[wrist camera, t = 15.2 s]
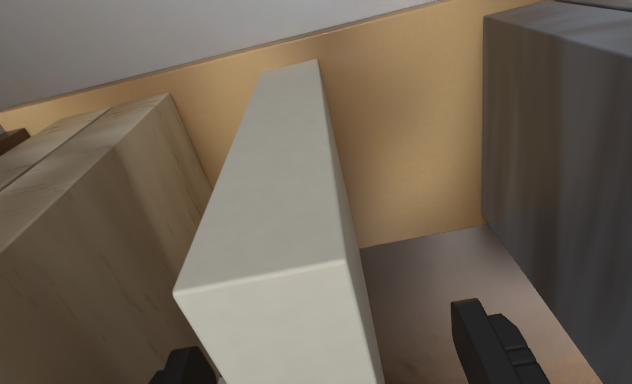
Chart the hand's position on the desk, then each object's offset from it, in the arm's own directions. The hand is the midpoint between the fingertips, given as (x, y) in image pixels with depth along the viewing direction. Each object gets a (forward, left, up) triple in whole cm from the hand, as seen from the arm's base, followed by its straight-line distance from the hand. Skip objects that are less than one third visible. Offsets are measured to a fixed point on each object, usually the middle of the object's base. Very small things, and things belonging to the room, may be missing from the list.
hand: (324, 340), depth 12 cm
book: (0, 0, -12) cm, 12 cm away
